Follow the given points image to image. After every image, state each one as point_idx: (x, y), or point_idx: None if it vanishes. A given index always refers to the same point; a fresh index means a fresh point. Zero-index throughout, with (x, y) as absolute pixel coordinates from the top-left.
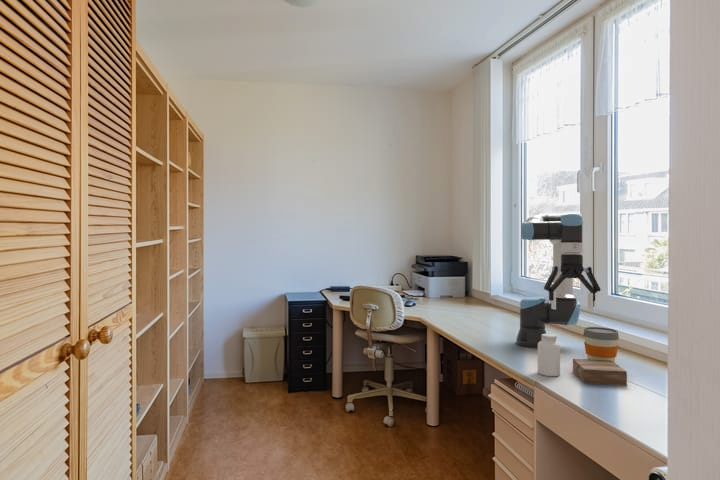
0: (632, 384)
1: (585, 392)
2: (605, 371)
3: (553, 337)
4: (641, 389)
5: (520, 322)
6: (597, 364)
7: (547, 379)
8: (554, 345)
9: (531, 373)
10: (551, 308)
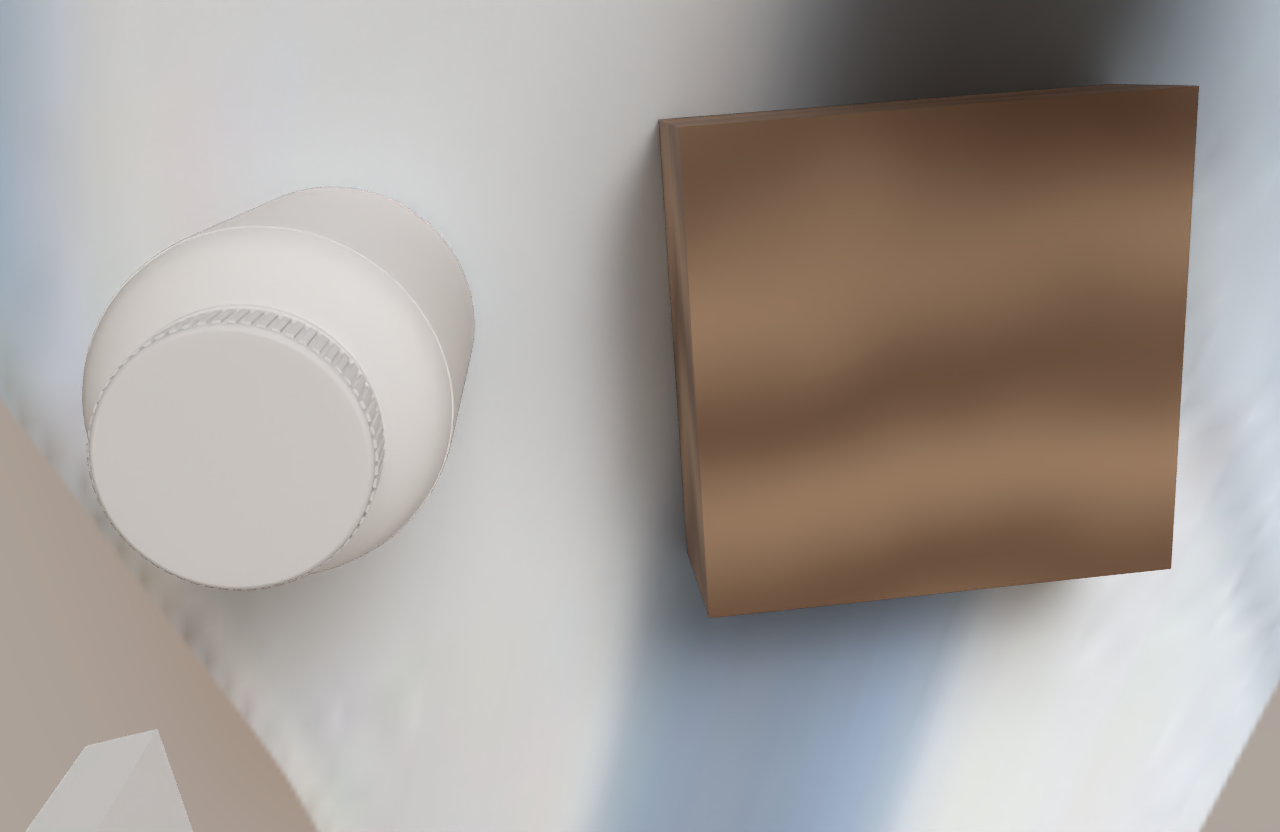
0: None
1: (633, 823)
2: (940, 588)
3: (314, 565)
4: (1185, 585)
5: None
6: (934, 352)
7: None
8: (348, 556)
9: None
10: (88, 760)
